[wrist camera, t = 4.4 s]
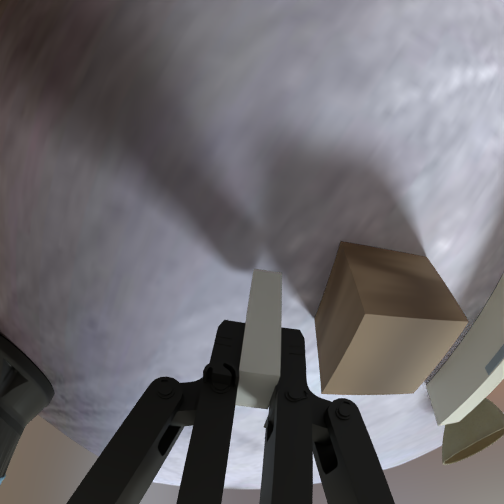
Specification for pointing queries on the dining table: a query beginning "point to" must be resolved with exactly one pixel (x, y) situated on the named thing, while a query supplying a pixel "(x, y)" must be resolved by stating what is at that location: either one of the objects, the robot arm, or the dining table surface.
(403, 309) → the block
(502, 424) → the flower pot
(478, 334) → the board
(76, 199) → the dining table surface
